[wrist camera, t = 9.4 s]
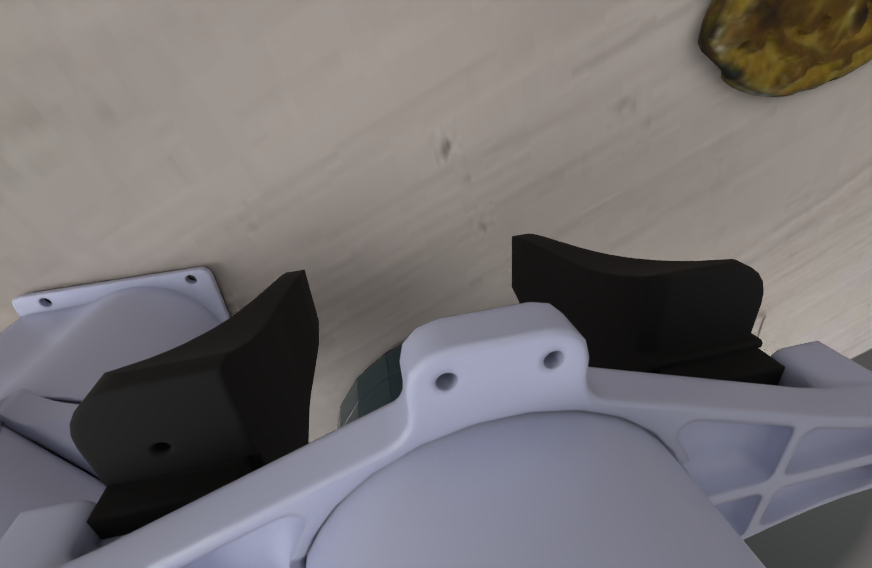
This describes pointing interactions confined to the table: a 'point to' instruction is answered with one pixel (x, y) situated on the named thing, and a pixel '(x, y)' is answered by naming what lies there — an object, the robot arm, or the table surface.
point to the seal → (786, 42)
